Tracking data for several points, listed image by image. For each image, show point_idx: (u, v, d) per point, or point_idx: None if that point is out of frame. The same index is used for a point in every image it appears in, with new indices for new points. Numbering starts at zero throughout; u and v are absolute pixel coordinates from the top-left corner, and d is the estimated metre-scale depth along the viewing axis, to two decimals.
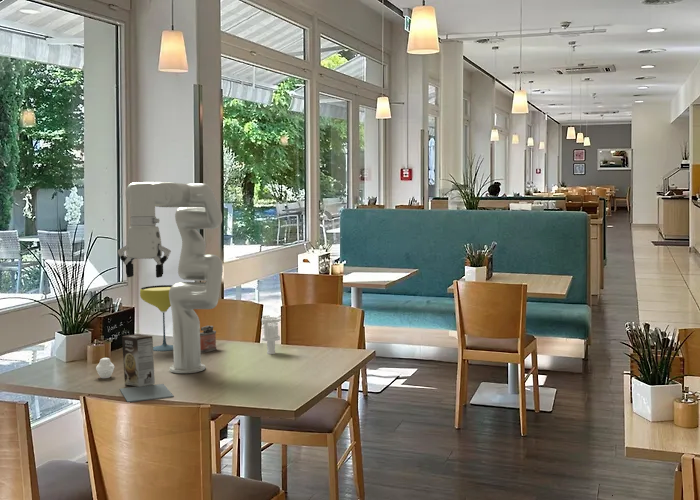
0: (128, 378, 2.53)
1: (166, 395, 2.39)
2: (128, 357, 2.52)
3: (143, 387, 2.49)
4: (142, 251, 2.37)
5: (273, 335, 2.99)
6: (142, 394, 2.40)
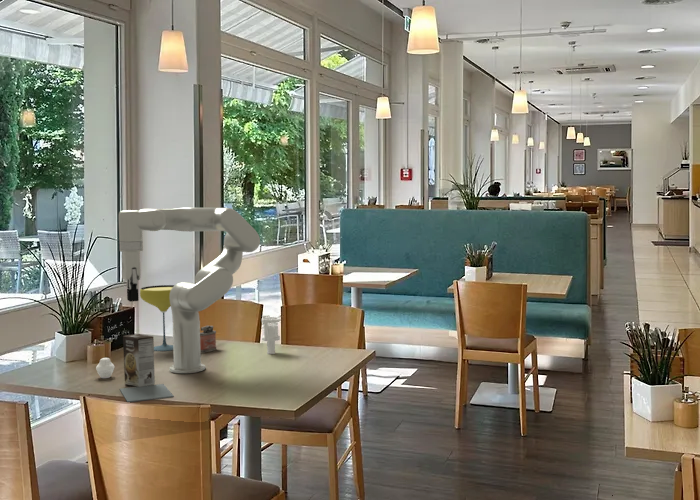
0: (128, 378, 2.53)
1: (166, 395, 2.39)
2: (129, 357, 2.52)
3: (143, 387, 2.49)
4: None
5: (273, 335, 2.99)
6: (142, 394, 2.40)
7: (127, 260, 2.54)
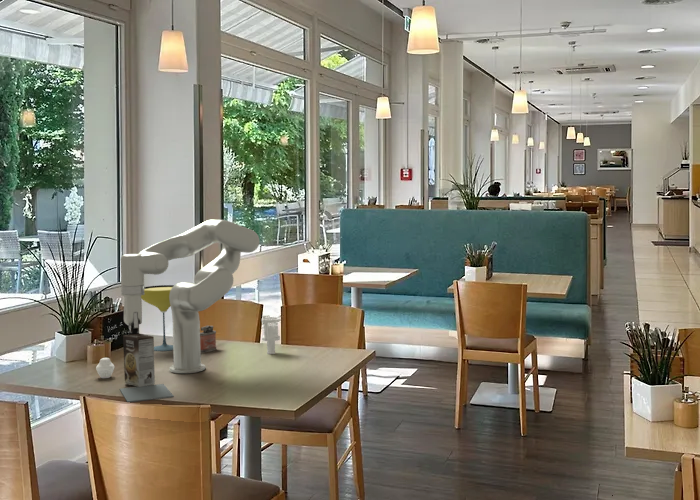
0: (128, 377, 2.53)
1: (166, 395, 2.39)
2: (129, 356, 2.52)
3: (143, 387, 2.49)
4: None
5: (273, 335, 2.99)
6: (142, 394, 2.40)
7: (128, 305, 2.54)
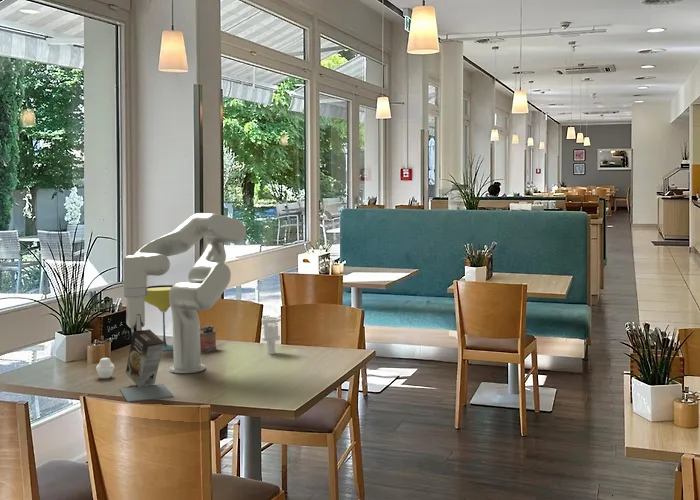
0: (130, 372, 2.52)
1: (166, 395, 2.39)
2: (135, 355, 2.49)
3: (143, 387, 2.49)
4: None
5: (273, 335, 2.99)
6: (142, 394, 2.40)
7: (131, 307, 2.49)
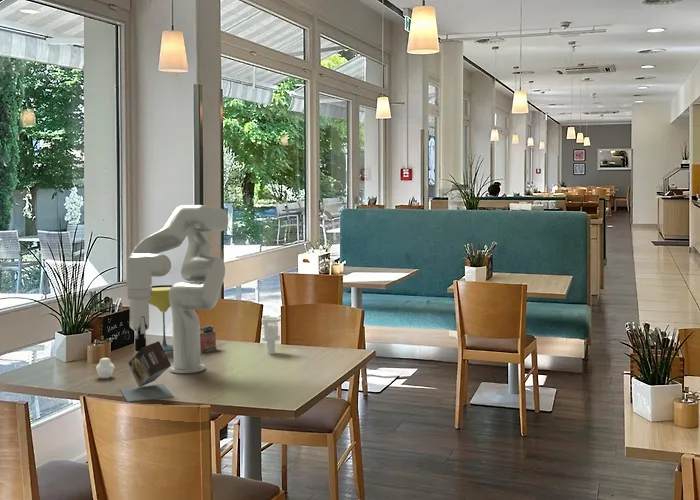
0: (133, 369, 2.48)
1: (166, 395, 2.39)
2: (140, 365, 2.43)
3: (143, 387, 2.49)
4: None
5: (273, 335, 2.99)
6: (142, 394, 2.40)
7: (135, 309, 2.41)
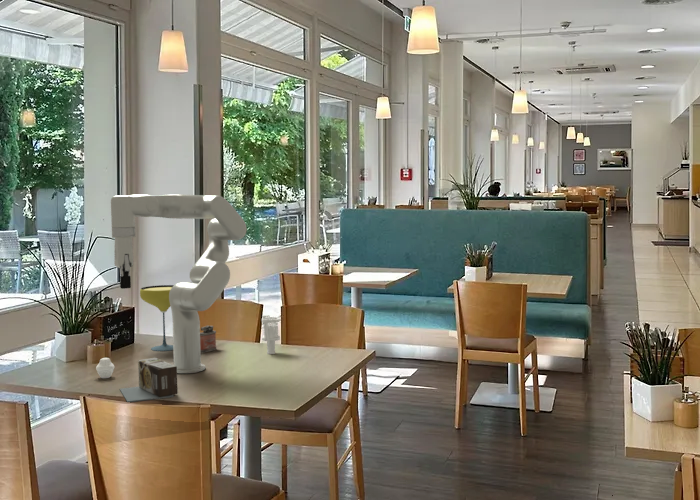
0: (140, 371, 2.47)
1: None
2: (149, 377, 2.41)
3: None
4: None
5: (273, 335, 2.99)
6: (142, 394, 2.40)
7: (119, 246, 2.48)
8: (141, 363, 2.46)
